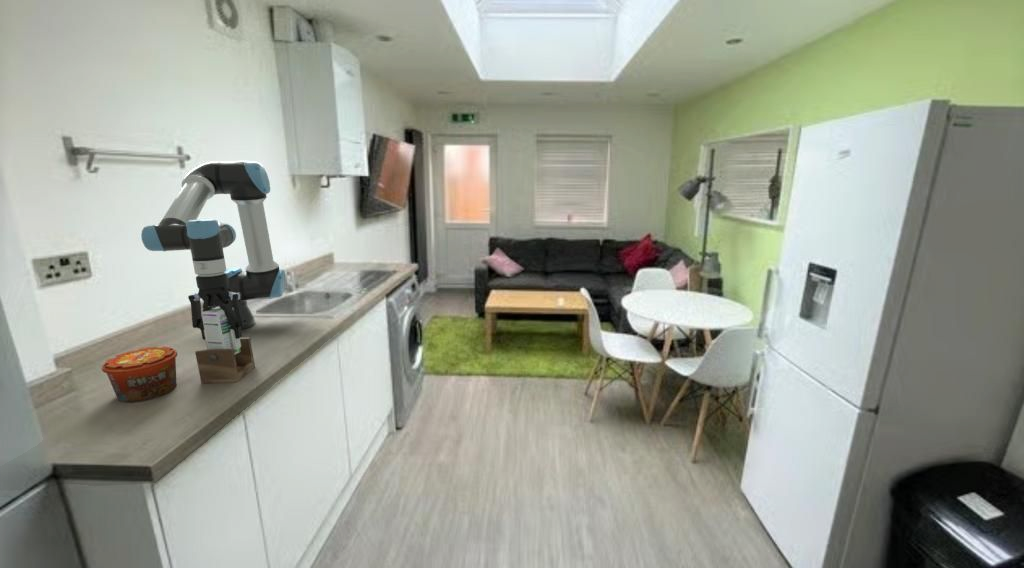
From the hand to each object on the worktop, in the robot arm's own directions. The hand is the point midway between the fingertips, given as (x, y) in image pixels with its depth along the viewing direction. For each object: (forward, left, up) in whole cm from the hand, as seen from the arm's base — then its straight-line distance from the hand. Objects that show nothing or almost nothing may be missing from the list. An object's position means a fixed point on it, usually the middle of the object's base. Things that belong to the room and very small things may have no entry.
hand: (224, 348), depth 129 cm
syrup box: (0, 0, -2) cm, 2 cm away
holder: (0, 0, -9) cm, 9 cm away
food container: (+9, -17, -9) cm, 21 cm away
